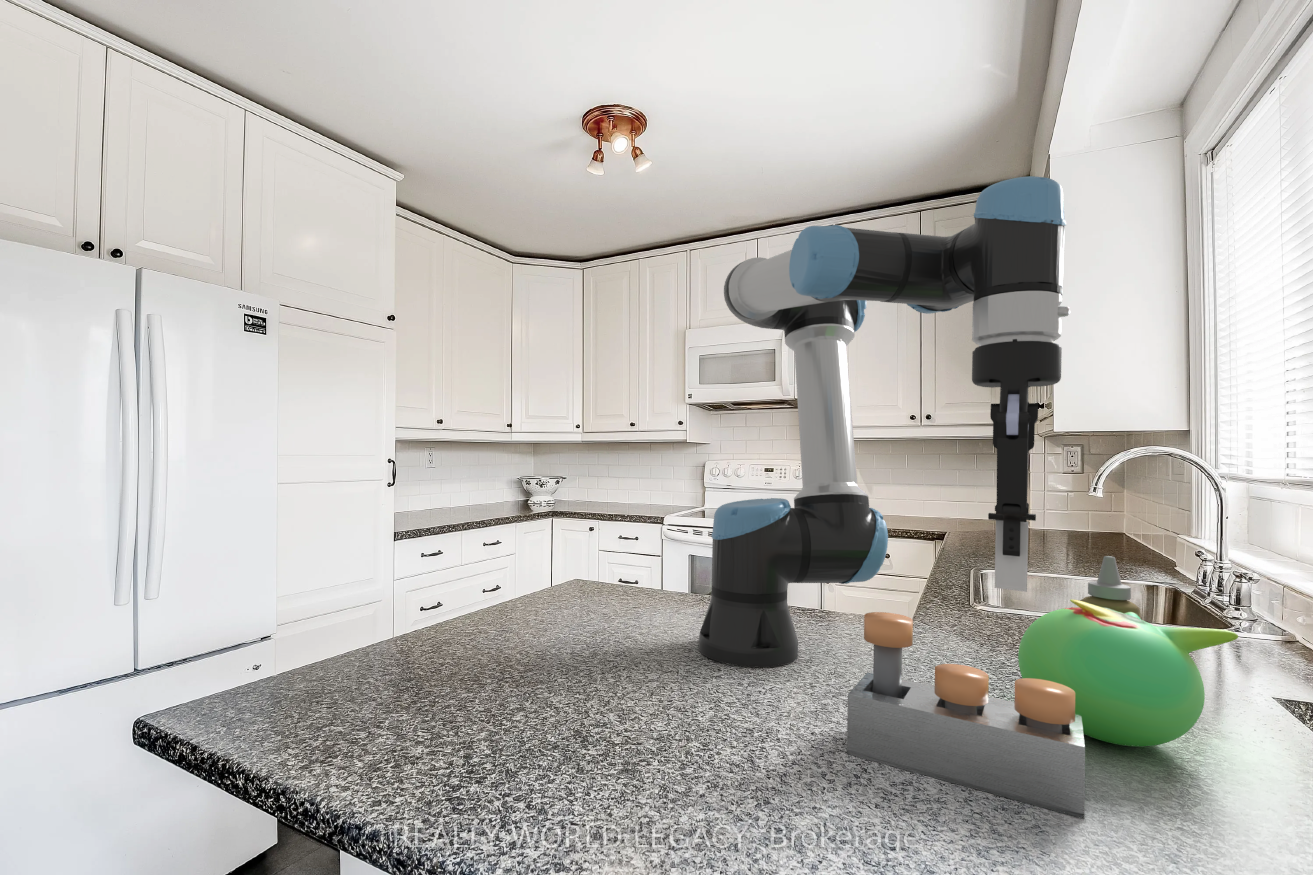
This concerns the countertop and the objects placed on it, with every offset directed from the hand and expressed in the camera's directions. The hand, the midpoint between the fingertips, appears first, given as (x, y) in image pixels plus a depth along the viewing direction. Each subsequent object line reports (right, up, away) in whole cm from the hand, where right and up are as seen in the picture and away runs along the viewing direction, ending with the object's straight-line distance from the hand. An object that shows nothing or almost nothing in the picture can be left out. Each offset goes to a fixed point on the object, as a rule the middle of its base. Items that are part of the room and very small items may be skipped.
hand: (1010, 588), depth 61 cm
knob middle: (-4, -16, +1) cm, 17 cm away
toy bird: (+16, -19, +10) cm, 27 cm away
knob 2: (+2, -16, -2) cm, 16 cm away
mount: (-4, -18, +1) cm, 18 cm away
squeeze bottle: (+26, -20, +23) cm, 39 cm away
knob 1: (-10, -12, +5) cm, 16 cm away
